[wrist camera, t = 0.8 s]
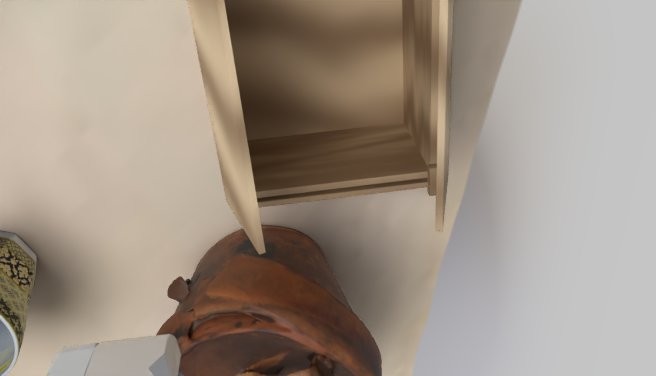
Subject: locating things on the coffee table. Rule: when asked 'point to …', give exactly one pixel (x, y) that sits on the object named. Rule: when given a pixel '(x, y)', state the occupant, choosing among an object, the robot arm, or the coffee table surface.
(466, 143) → the coffee table surface
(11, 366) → the ceramic cup
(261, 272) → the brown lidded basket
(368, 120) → the wooden flap box
